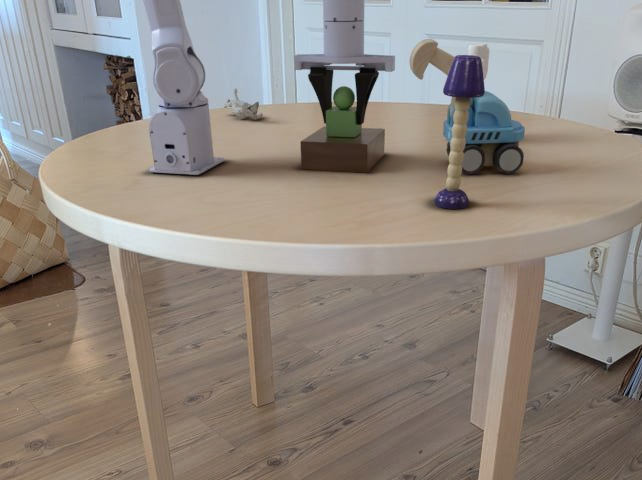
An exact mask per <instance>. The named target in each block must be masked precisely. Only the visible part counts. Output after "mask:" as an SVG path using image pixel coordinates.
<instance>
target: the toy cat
mask: <svg viewBox="0 0 642 480" xmlns="http://www.w3.org/2000/svg"><path fill="white" fill-rule="evenodd" d="M232 95H233V99H234V100H231V99H229V98H228V99H227V100H226V101H225V104H224V105H223V108H224V109H227V108H232V109H231V110H232V114H231V115H232V116H236V117H237V118H238V119H240V120H245V119H247V118H248V117H251V118H252V119H253V120H254V121H258V120H259V119H261V118H262V117H263V116H264V114H263V113H262V112H261V111H260V113H259V114H258V109H259V107H260V106H259V105H260V103H259V101H256V102H252V103H249V102H247V101H243V100H240V99H239V98H238V97H239V96H238V88H234V89H233V93H232Z"/></svg>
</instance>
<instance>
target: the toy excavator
mask: <svg viewBox="0 0 642 480" xmlns="http://www.w3.org/2000/svg"><path fill="white" fill-rule="evenodd" d="M438 46H439V42H438V41H436V40H434V39H432V38H425V39H422V40H421V41H418V43H417V44H416V45H415V46H414V47H413V48H412V50H411V53H410V56H409V66H410V70H411V72H412V74H413V75H414V76H415V77H416V78H417V79H418V80H421V81H422V80H423V79H424V76H425V75H424V74H425V73H426V70H427V68H428V66H429V64H430V65H432V66H434V67H435V68H436V69H437V70H439V71H441V73H443V74H445V75H446V76H448V73H449V70H450V68H451V65H452V62H453V59H454V57H455V56H454V55H452V54H450V53H448V52H447V51H445V50H443V49H441V48H439V47H438ZM450 99H451V100H450V103H449V105H448V107H447V114H446V120H444V121H443V128H442V135H443V137H444V138H445V139H446V140H447V143H446V154H447V156H448V157H449V154H450V152H451V147H450V143H451V139H452V137H453V135H452V127H453V125H454V120H453V115H454V112H455V110H456V108H455V99H456V97H451V98H450ZM468 113H469V118H468V121H467V123H466V125H467V133H466V136H465V141H466V144H465V148H464V150H463V153H464V159H463V162H462V164H461V165H462V173H463V174H465V175H474V174H476V173H478V172H479V171H481V170H482V169H483V167H495V168H496V169H497V170H498V171H499V172H500V173H503V174H506V175H511V174H512V175H513V174H514V173H516V172H518V171H519V170H520V169H521V167H522V166H523V165H524V159H525V155H524V151H523V149H522V148H520V142H522V141H523V140H524V138H525V130H526V129H525V126H524V125H522V123H521V122H520V121H518V120H516V119H512V113H511V111H510V109H509V107H508V105H507V104H506V103H505V102H504V100H502V99H501V98H499V97H498V96H496V95H495V94H493V93H492V92H490V91H487V90H485V93H484V95H483V96H482V97H477V98H470V106H469V108H468Z"/></svg>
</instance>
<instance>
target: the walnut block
mask: <svg viewBox="0 0 642 480" xmlns="http://www.w3.org/2000/svg"><path fill="white" fill-rule="evenodd" d="M385 136H386V129H385V128H375V127H373V128H371V127H362V132H361V133H360V134H358V135H357V136H356V137H332V136H326V125H325V126H322V127H321V128H319V129H317V130H316V131H314V132H312V133H311V134H310V135H308V136H307V137H305V138H303V139H302V140H301V141H300V167H301V170H307V171H309V170H311V171H325V172H326V171H327V172H328V171H329V172H344V173H360V174H364V173H365V174H367V173H368V172H370V170H371V169H372V168H373V167H374V166H375V165H376V164H377V163H378V162H379V161H380V160H381V159H382V158H383V157H384V156H385V144H386V143H385V142H386V140H385V139H386V137H385Z"/></svg>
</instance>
